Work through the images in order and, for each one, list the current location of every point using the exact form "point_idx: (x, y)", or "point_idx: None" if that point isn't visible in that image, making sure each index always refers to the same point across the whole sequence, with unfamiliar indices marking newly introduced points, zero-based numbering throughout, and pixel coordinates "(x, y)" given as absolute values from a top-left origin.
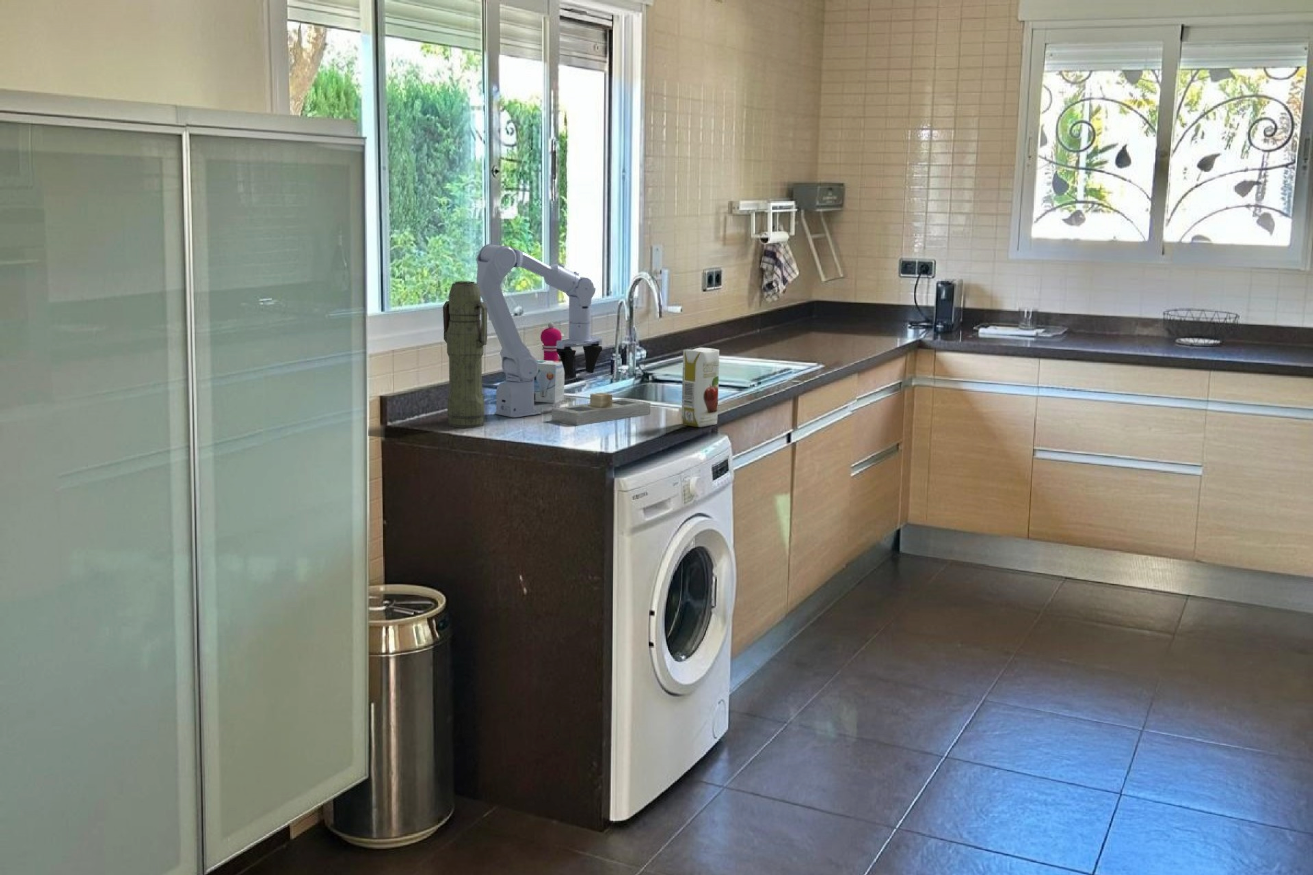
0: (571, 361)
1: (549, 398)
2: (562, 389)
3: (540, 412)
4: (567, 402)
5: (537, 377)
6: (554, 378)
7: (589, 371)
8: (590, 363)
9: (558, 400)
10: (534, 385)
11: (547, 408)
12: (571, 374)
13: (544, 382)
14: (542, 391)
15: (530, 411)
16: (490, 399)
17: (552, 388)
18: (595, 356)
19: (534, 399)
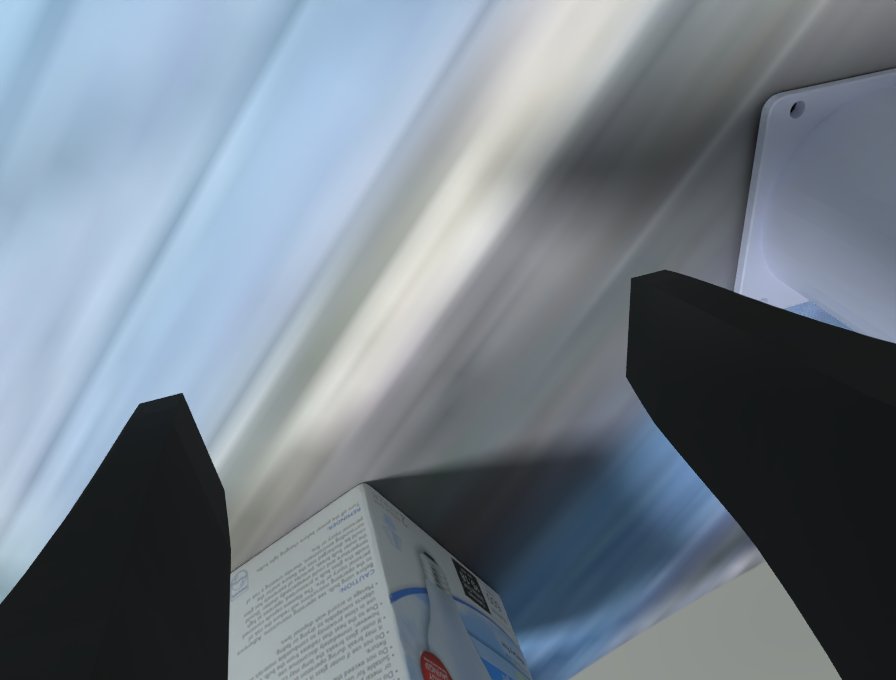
0: (885, 359)
1: (397, 524)
2: (257, 627)
3: (784, 95)
4: (257, 484)
5: None
6: (410, 651)
7: (200, 449)
8: (178, 563)
9: (312, 523)
10: (488, 648)
11: (543, 315)
12: (655, 279)
13: (453, 645)
14: (442, 587)
15: (879, 97)
16: (599, 640)
17: (399, 579)
18: (54, 662)
19: (455, 564)
